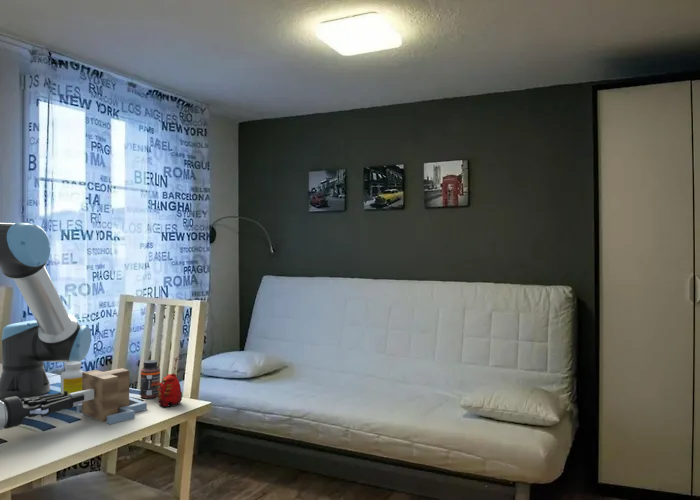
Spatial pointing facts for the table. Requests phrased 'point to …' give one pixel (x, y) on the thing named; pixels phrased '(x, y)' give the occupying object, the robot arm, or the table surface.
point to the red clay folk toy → (170, 390)
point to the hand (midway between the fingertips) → (92, 393)
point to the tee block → (105, 392)
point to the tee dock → (123, 411)
